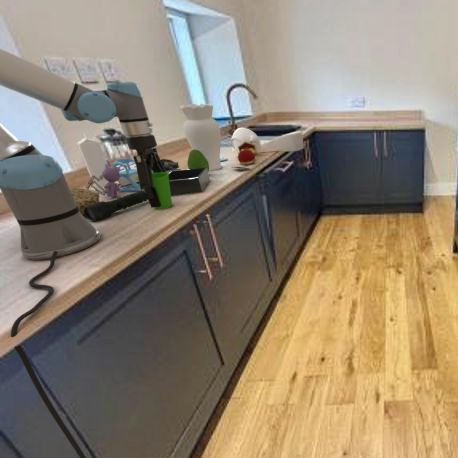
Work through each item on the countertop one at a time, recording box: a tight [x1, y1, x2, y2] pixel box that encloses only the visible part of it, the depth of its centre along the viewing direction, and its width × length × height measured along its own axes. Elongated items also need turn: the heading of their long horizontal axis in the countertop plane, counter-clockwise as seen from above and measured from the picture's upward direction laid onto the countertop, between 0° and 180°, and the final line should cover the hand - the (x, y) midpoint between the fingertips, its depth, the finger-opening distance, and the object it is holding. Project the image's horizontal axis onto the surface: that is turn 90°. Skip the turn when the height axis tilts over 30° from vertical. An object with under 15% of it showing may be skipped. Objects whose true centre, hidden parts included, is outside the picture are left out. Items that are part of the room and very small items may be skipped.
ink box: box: [117, 162, 139, 187], centre depth 148 cm, size 8×5×12 cm
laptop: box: [230, 165, 251, 170], centre depth 163 cm, size 7×6×2 cm
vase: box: [178, 102, 222, 172], centre depth 162 cm, size 15×15×29 cm
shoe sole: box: [257, 130, 305, 154], centre depth 202 cm, size 36×13×10 cm, turn 87°
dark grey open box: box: [168, 167, 211, 197], centre depth 139 cm, size 18×14×6 cm
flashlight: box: [83, 189, 149, 222], centre depth 117 cm, size 5×21×5 cm, turn 162°
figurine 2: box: [237, 141, 258, 166], centre depth 176 cm, size 9×10×15 cm
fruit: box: [187, 149, 209, 172], centre depth 153 cm, size 8×8×12 cm
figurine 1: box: [102, 163, 121, 198], centre depth 131 cm, size 5×7×12 cm
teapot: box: [230, 127, 261, 154], centre depth 188 cm, size 25×16×12 cm
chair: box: [112, 158, 142, 192], centre depth 138 cm, size 8×8×12 cm
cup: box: [137, 172, 173, 211], centre depth 117 cm, size 9×9×11 cm
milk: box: [76, 133, 116, 193], centre depth 137 cm, size 6×6×22 cm
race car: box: [160, 158, 180, 169], centre depth 159 cm, size 15×7×4 cm, turn 173°
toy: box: [220, 157, 228, 162], centre depth 184 cm, size 14×1×10 cm
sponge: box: [70, 187, 101, 215], centre depth 117 cm, size 13×8×20 cm
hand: (161, 201), depth 119 cm, fingers open, 11 cm apart
